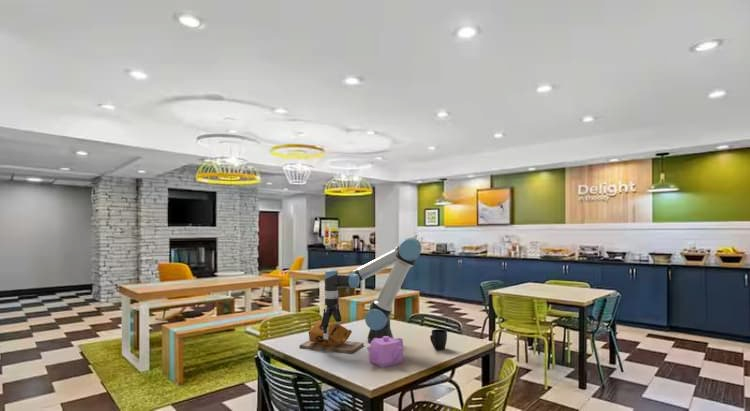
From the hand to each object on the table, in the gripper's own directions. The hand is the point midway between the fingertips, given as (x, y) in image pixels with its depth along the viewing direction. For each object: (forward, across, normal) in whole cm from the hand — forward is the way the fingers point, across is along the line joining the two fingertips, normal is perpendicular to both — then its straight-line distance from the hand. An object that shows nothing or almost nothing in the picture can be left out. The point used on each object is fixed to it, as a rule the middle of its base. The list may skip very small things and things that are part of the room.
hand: (331, 336), depth 228 cm
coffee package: (-2, 0, -12) cm, 12 cm away
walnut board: (+6, 0, 0) cm, 6 cm away
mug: (+6, -14, +57) cm, 59 cm away
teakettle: (+6, +15, +38) cm, 41 cm away
